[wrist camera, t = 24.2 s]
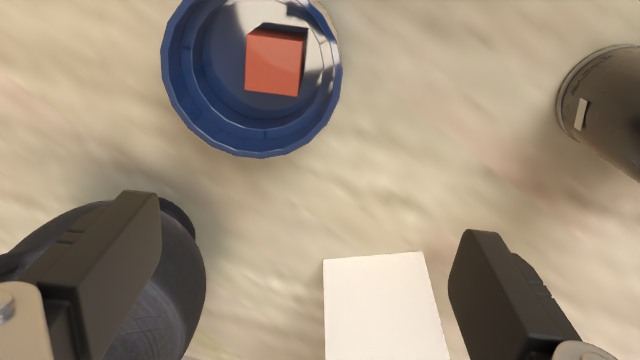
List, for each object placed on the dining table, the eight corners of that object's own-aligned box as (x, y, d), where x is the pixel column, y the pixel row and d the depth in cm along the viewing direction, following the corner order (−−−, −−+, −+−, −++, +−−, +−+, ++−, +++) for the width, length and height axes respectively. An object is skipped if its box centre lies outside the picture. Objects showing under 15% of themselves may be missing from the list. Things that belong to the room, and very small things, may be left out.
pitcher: (139, 307, 53) (-62, 653, 26) (18, 175, 45) (-453, 480, 18) (255, 259, 49) (161, 609, 22) (146, 105, 41) (-212, 361, 14)
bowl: (350, -15, 35) (354, -13, 30) (330, 139, 42) (330, 166, 36) (184, -36, 35) (154, -37, 29) (189, 123, 41) (165, 148, 36)
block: (306, 33, 37) (303, 41, 33) (301, 84, 39) (297, 97, 35) (255, 27, 37) (246, 34, 33) (253, 77, 39) (243, 90, 35)
